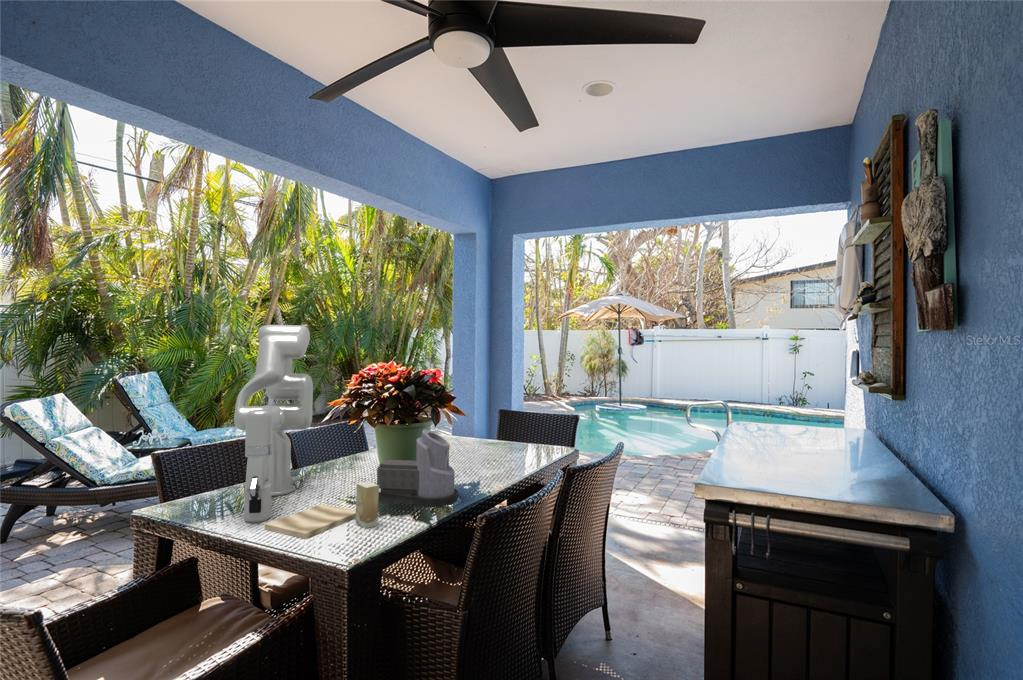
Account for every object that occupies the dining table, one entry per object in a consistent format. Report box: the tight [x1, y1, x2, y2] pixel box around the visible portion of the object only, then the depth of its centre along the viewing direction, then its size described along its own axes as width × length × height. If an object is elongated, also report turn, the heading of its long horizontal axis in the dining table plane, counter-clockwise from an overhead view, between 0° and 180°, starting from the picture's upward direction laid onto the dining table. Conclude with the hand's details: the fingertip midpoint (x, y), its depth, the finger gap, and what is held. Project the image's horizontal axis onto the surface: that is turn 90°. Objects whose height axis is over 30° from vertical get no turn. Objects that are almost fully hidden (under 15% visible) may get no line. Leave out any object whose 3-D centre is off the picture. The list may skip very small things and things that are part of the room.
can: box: [243, 479, 272, 524], centre depth 165 cm, size 8×8×12 cm
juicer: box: [376, 428, 459, 508], centre depth 188 cm, size 30×16×24 cm, turn 83°
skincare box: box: [355, 480, 380, 529], centre depth 162 cm, size 6×4×12 cm
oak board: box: [264, 503, 356, 540], centre depth 163 cm, size 22×16×2 cm
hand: (257, 508), depth 165 cm, fingers closed on can, 7 cm apart
